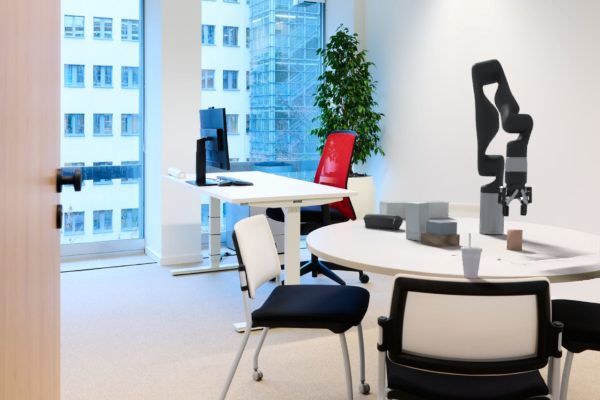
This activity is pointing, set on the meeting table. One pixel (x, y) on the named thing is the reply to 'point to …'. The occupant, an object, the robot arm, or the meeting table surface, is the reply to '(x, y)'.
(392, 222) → the glasses case
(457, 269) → the meeting table surface
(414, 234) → the skincare box
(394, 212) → the long grey block
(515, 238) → the peach capsule
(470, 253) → the smoothie
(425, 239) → the tower base
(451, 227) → the tower top
